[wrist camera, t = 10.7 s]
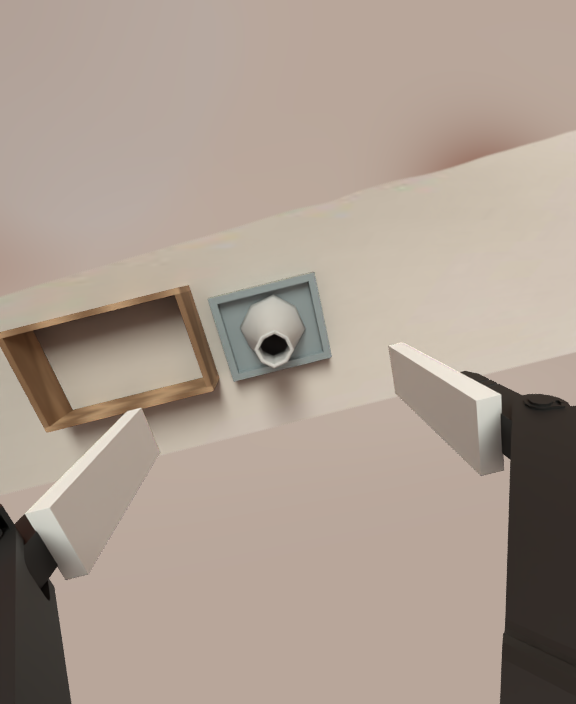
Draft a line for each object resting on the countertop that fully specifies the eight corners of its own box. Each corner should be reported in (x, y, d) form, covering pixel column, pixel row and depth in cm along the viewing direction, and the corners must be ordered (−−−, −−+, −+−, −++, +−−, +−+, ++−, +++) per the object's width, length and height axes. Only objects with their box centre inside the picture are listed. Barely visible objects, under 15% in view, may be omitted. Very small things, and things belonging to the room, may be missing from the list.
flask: (316, 327, 35) (334, 350, 25) (272, 368, 36) (273, 405, 26) (273, 282, 33) (274, 287, 23) (228, 327, 34) (212, 349, 24)
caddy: (69, 415, 37) (46, 432, 33) (25, 326, 33) (-7, 333, 30) (219, 378, 36) (213, 391, 33) (188, 285, 33) (178, 287, 29)
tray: (235, 376, 37) (233, 381, 35) (210, 297, 34) (207, 298, 32) (328, 353, 36) (331, 357, 35) (312, 272, 34) (314, 272, 32)
